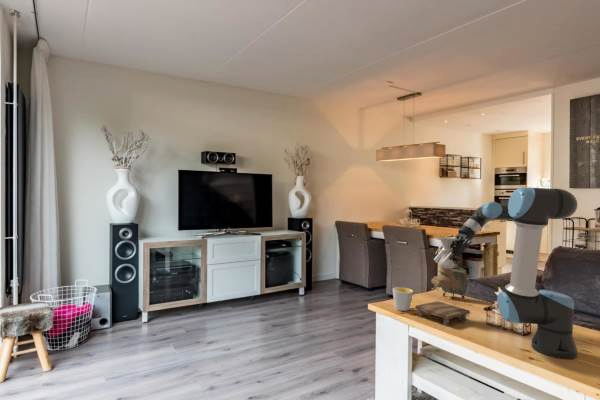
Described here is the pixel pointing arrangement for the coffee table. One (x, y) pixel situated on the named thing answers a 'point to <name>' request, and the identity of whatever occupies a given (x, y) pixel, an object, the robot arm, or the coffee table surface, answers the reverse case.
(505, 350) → the coffee table surface
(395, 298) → the mug
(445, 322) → the walnut stand
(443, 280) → the candle holder
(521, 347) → the coffee table surface
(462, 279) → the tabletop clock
